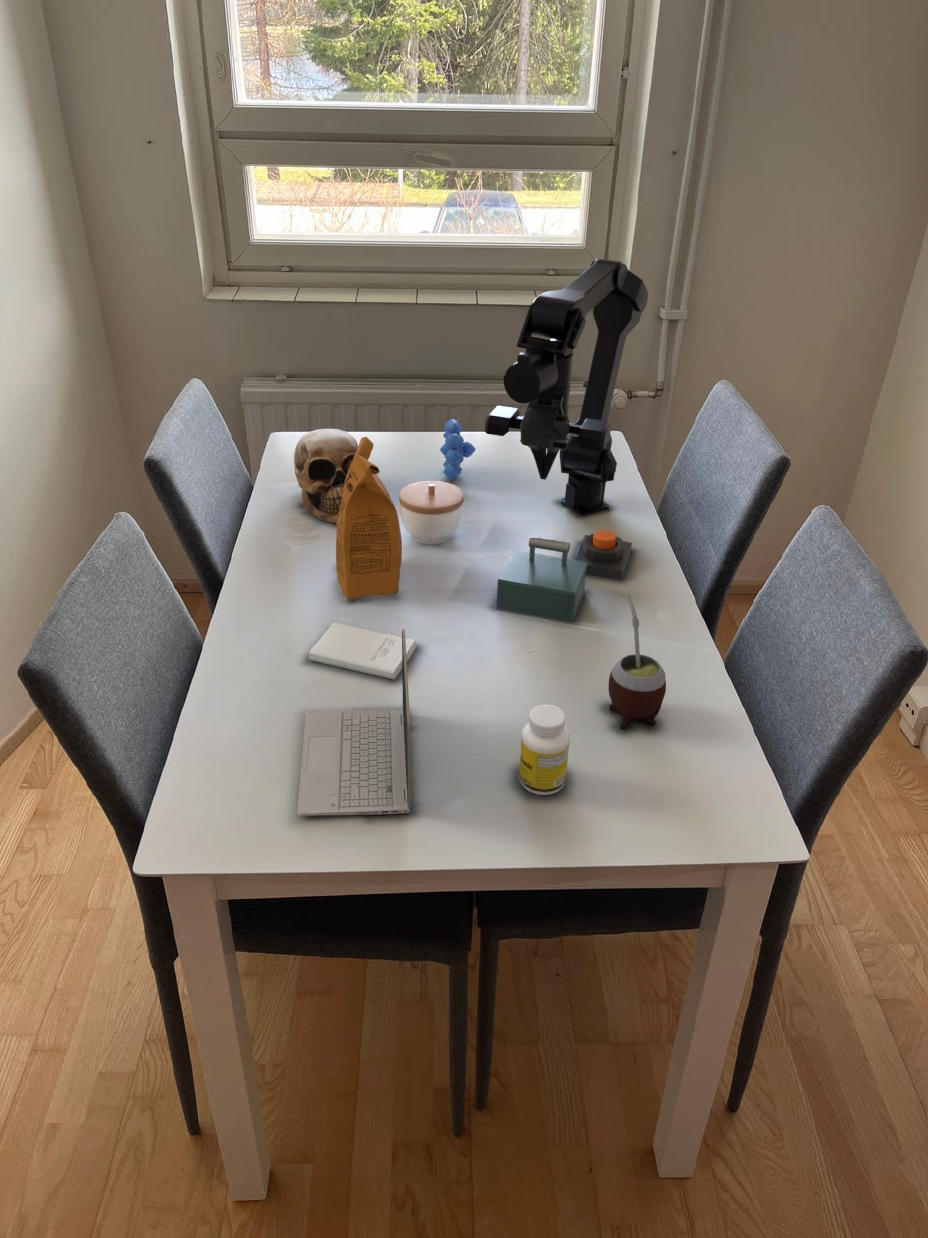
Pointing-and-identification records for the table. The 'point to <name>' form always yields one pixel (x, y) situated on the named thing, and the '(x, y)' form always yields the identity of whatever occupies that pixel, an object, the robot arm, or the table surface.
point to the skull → (324, 470)
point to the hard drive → (361, 650)
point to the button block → (604, 558)
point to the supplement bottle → (544, 751)
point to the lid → (544, 569)
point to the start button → (604, 539)
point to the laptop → (357, 760)
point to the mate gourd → (636, 684)
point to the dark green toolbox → (539, 601)
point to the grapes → (454, 449)
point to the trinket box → (431, 510)
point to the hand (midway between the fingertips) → (543, 478)
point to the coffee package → (367, 532)
